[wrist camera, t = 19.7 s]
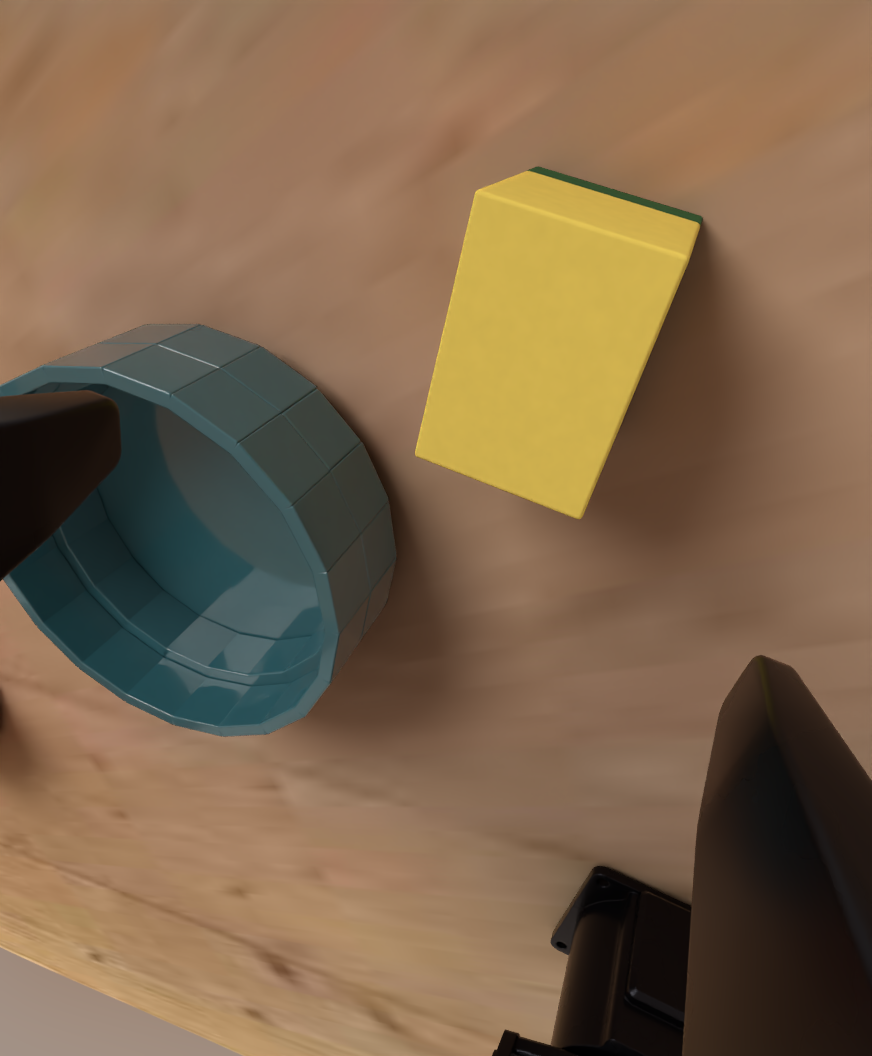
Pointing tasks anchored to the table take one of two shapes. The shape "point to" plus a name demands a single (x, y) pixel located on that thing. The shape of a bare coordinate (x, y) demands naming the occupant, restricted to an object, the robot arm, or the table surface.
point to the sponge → (550, 332)
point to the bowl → (212, 534)
